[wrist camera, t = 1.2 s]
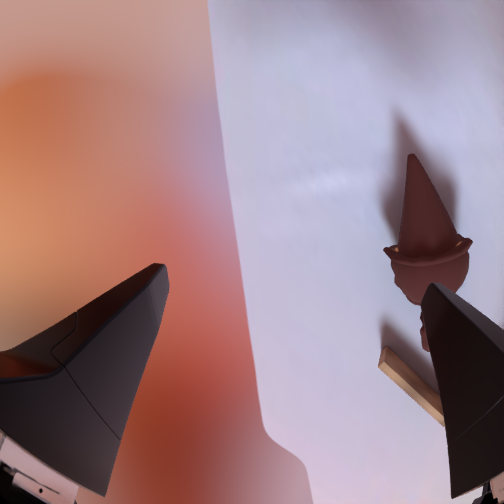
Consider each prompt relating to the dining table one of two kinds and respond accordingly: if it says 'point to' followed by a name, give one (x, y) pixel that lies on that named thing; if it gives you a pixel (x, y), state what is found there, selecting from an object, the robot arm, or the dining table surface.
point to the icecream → (426, 242)
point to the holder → (411, 383)
